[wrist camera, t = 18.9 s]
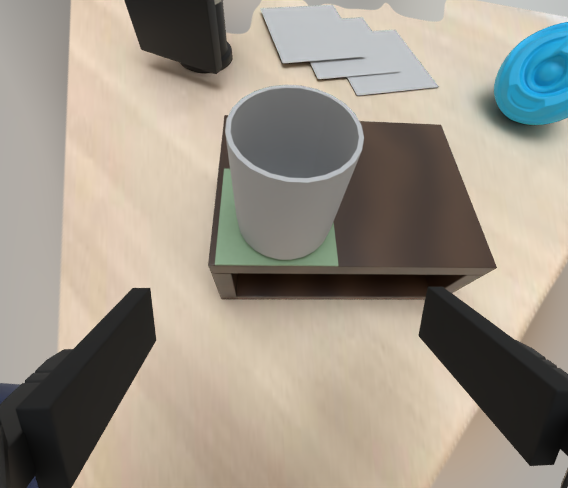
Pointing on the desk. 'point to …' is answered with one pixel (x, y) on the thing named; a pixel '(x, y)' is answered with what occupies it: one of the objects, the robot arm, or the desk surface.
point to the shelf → (367, 228)
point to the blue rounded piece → (535, 78)
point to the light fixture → (183, 32)
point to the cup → (290, 166)
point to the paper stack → (346, 49)
